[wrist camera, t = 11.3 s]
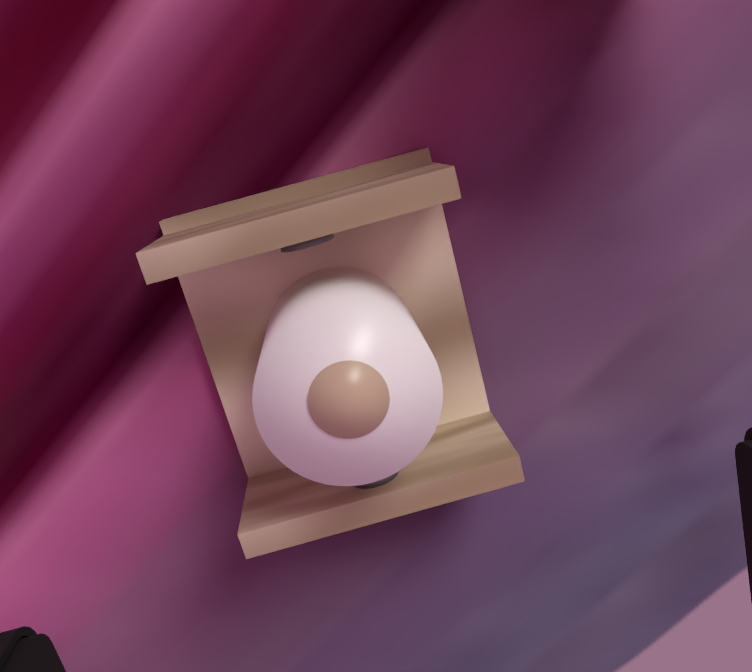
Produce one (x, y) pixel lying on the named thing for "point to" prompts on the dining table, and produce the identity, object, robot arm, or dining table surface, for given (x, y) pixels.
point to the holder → (299, 258)
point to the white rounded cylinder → (345, 380)
